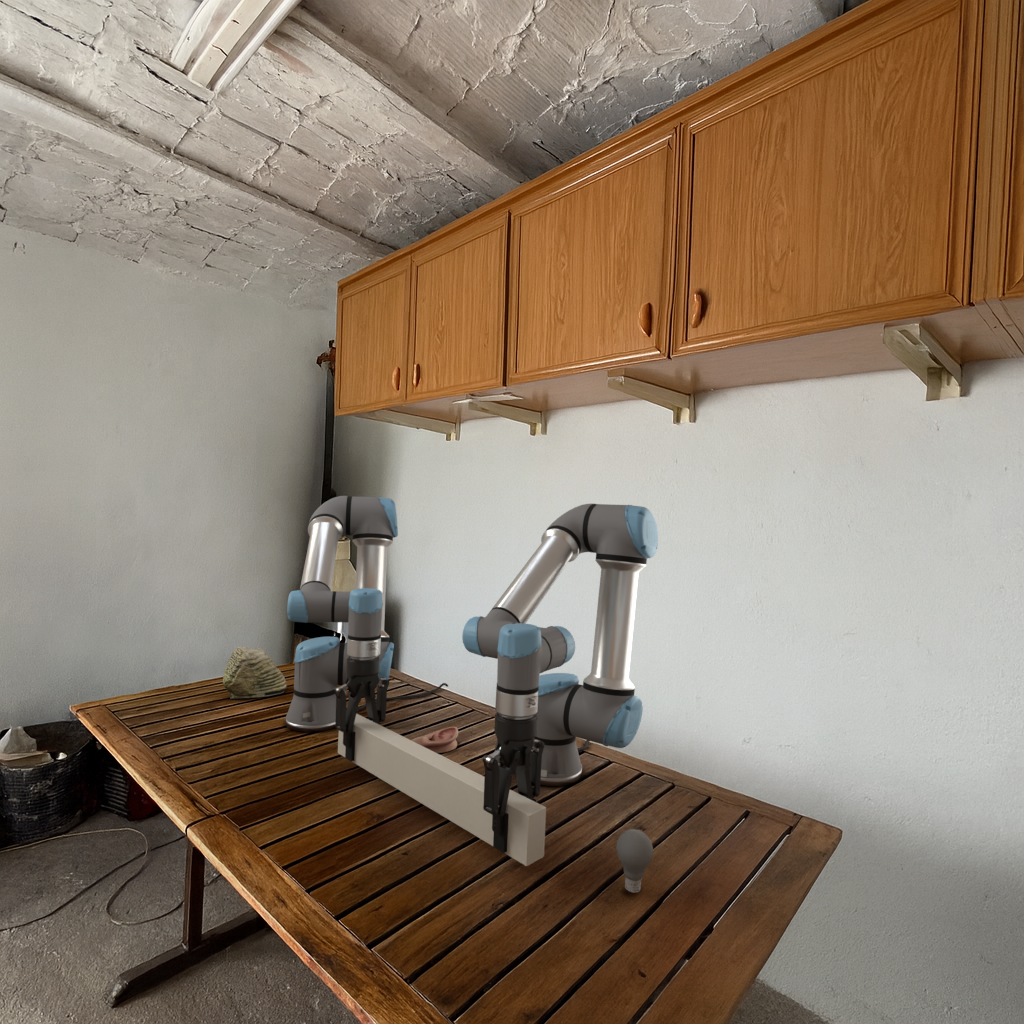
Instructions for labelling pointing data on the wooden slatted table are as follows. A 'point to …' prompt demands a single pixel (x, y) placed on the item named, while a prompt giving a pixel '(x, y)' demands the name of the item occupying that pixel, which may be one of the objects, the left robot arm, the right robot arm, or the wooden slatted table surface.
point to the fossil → (252, 674)
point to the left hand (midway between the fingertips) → (359, 756)
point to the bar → (446, 788)
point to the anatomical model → (439, 740)
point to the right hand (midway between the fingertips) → (510, 843)
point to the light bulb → (634, 857)
